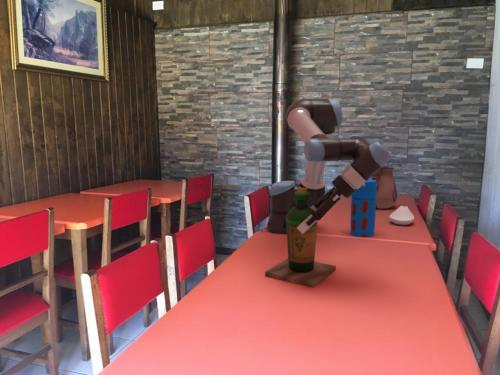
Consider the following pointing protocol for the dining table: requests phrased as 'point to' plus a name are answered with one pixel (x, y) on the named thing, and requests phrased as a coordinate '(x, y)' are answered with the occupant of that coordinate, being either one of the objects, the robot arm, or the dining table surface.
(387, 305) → the dining table surface
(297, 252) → the bottle
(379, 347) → the dining table surface
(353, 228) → the thermos
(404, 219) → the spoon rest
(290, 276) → the walnut board
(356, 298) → the dining table surface
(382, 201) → the ceramic pitcher
